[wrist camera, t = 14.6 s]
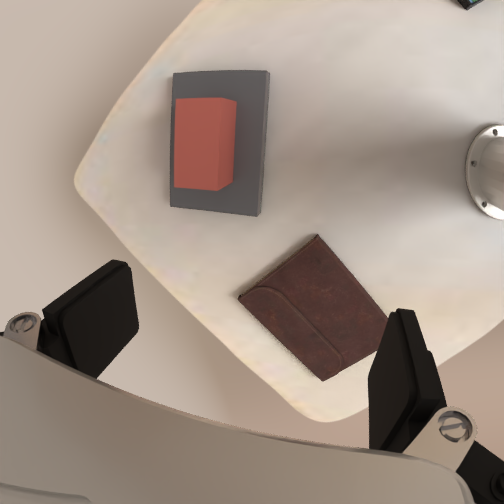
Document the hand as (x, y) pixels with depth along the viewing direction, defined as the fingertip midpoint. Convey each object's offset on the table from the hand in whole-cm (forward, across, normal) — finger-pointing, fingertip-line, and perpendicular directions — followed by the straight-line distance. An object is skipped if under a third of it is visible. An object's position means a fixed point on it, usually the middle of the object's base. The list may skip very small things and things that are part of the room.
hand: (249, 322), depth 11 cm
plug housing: (+28, +12, -4) cm, 31 cm away
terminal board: (+30, +12, -4) cm, 33 cm away
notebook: (+31, -4, +19) cm, 37 cm away
